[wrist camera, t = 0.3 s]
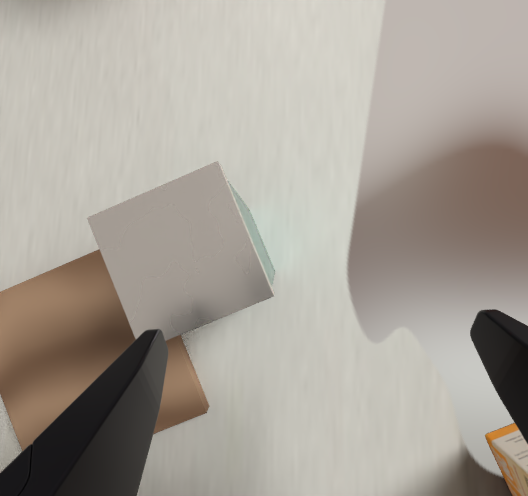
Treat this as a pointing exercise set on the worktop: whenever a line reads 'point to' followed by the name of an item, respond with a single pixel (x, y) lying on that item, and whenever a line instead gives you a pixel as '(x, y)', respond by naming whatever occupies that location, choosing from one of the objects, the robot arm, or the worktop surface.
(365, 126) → the worktop surface
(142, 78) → the worktop surface
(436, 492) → the worktop surface
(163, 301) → the tea tin
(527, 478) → the supplement box
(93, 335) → the walnut board
